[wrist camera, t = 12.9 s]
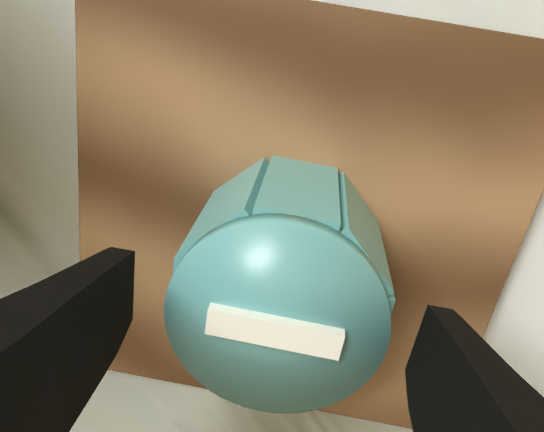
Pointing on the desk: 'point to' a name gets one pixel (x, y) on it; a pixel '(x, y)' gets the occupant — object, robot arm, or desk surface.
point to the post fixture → (309, 148)
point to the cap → (282, 289)
